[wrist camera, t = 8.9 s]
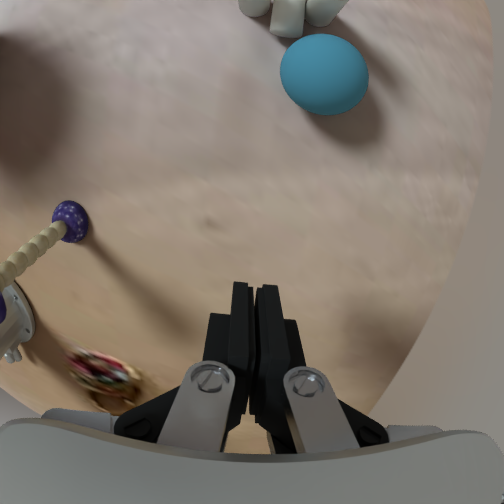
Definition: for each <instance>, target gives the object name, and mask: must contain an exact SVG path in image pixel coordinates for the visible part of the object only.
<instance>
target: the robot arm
mask: <svg viewBox="0 0 504 504" xmlns="http://www.w3.org/2000/svg"><path fill="white" fill-rule="evenodd" d="M2 295H3V298H4V300H5V304H6V308H7V312H6V313H7V314H6V318H5V320H4V321H3V322H2V323H1V324H0V360H1V358H2V357H3V356H4V357H5V359H6V360H7V362H8V363H13V362H15V360H16V361H21V360H22V356H21V354H20V352H19V350H18V345H19V344H20V343H21V342H27V341H29V340H30V339H31V337H32V336H33V335H34V332H35V321H34V316H33V313H32V311H31V308H30V306H29V304H28V301H27V300H26V298H25V296H24V294H23V293H22V291H21V290H20V288H19V287H18V286H17V284H16V283H15V282H13V283H12V284H11V285H10V286H8V287H5V288H4V290H3V292H2ZM248 397H249V413H250V415H255V423H259V425H260V426H261V427H263V428H264V429H265V430H267V432H266V433H267V440H268V444H269V448H270V452H271V454H237V453H224V451H225V447H226V442H227V438H228V433H229V431H230V430H232V429H233V428H235V427H236V426H237V425H239V424H240V420H241V415H242V414H245V412H246V407H247V402H248ZM0 504H504V455H503V453H502V451H501V450H500V448H499V447H498V445H497V444H496V442H495V441H494V440H493V439H492V438H491V437H490V436H488V435H487V434H485V433H482V432H477V431H471V430H449V431H442V430H441V429H440V428H438V427H436V426H400V425H398V426H397V425H388V427H387V428H384V427H383V426H382V425H380V424H379V423H378V422H376V421H374V420H373V419H370V418H369V417H367V416H366V415H364V414H362V413H361V412H359V411H357V410H355V409H354V408H352V407H350V406H349V405H347V404H345V403H344V402H342V401H341V400H339V399H337V397H336V395H335V393H334V391H333V389H332V386H331V384H330V382H329V380H328V379H327V377H326V376H325V375H324V374H323V373H322V372H321V371H319V370H317V369H315V368H311V367H306V362H305V358H304V353H303V349H302V344H301V340H300V336H299V331H298V327H297V323H296V320H291V319H284V318H283V313H282V307H281V302H280V296H279V291H278V286H277V285H266V284H263V286H262V288H258V287H257V291H256V298H255V305H254V296H253V287H248V283H244V282H234V284H233V294H232V304H231V314H230V315H228V314H218V313H210V318H209V324H208V330H207V336H206V342H205V348H204V354H203V360H202V361H201V362H198V363H195V364H194V365H192V366H191V367H189V369H188V370H187V372H186V374H185V376H184V379H183V381H182V383H181V385H180V386H178V387H176V388H174V389H172V390H170V391H168V392H166V393H164V394H162V395H160V396H158V397H156V398H154V399H152V400H150V401H148V402H146V403H144V404H142V405H140V406H138V407H136V408H133V409H131V410H129V411H127V412H125V413H123V414H122V415H120V416H112V415H111V413H101V412H88V411H78V410H69V409H61V408H52V409H50V410H48V411H46V412H45V413H44V414H43V415H42V417H41V418H20V419H14V420H11V421H8V422H6V423H5V424H3V425H2V426H1V427H0Z"/></svg>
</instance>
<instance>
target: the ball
mask: <svg viewBox="0 0 504 504" xmlns="http://www.w3.org/2000/svg"><path fill="white" fill-rule="evenodd" d="M280 76H281V81H282V84H283V87H284V89H285V91H286V92H287V94H288V95H289V97H290V98H291V99H292V100H293V101H294V102H295V103H296V104H297V105H299V106H300V107H302V108H303V109H305V110H307V111H309V112H312V113H315V114H320V115H336V114H340V113H344V112H346V111H348V110H350V109H352V108H353V107H354V106H356V105H357V104H358V103H359V102H360V101H361V99H362V98H363V96H364V94H365V92H366V90H367V87H368V81H369V75H368V69H367V65H366V63H365V60H364V58H363V57H362V55H361V54H360V52H359V51H358V50H357V49H356V48H355V47H354V46H353V45H352V44H350V43H349V42H348V41H346V40H344V39H342V38H340V37H337V36H334V35H329V34H312V35H308V36H305V37H303V38H301V39H299V40H297V41H296V42H294V43H293V44H292V45H291V46H290V47H289V48H288V49H287V51H286V52H285V54H284V56H283V58H282V62H281V67H280Z"/></svg>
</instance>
